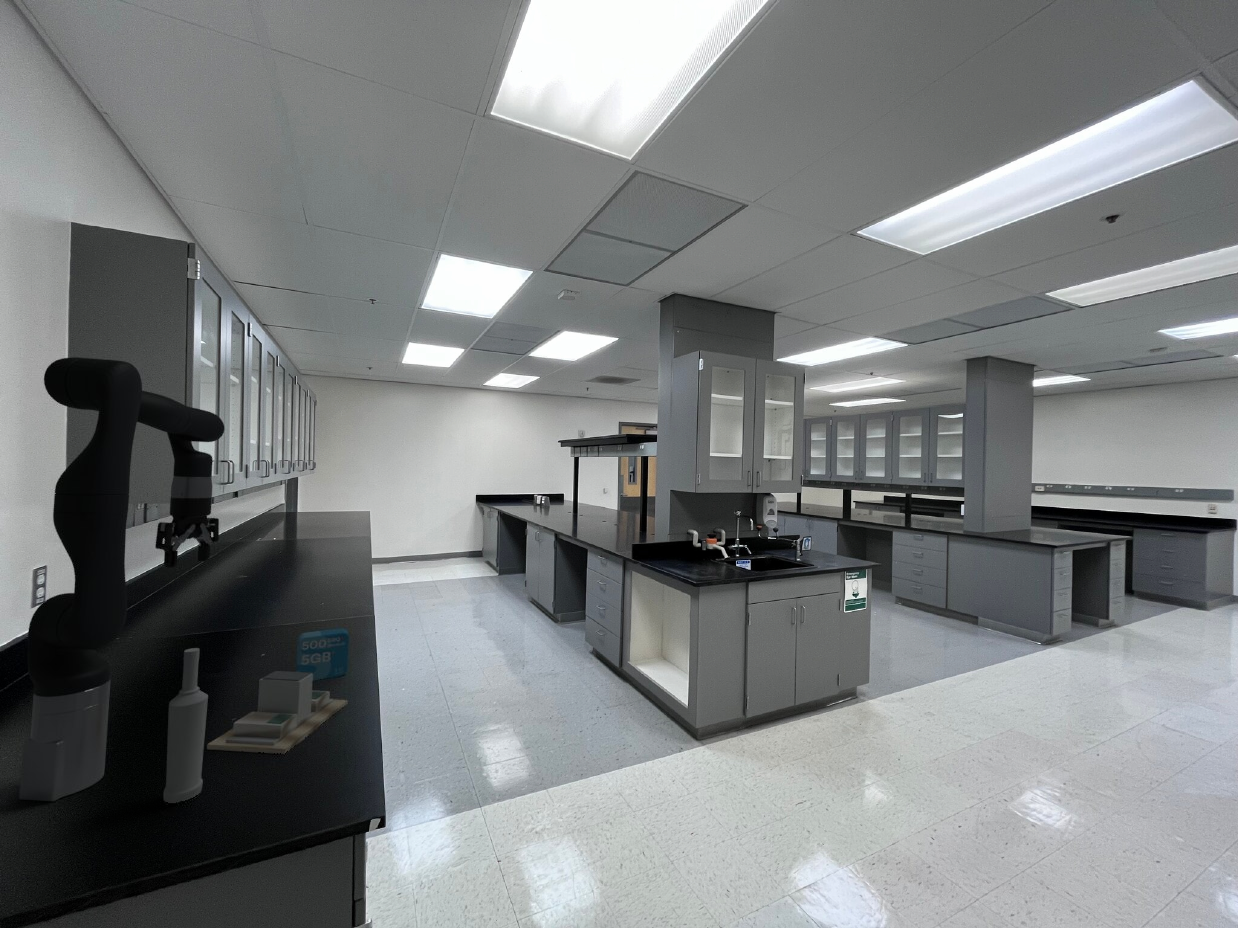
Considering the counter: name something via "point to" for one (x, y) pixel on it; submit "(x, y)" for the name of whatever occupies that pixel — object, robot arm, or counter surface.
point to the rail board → (285, 741)
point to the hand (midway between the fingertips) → (187, 563)
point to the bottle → (186, 735)
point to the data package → (323, 653)
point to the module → (286, 693)
